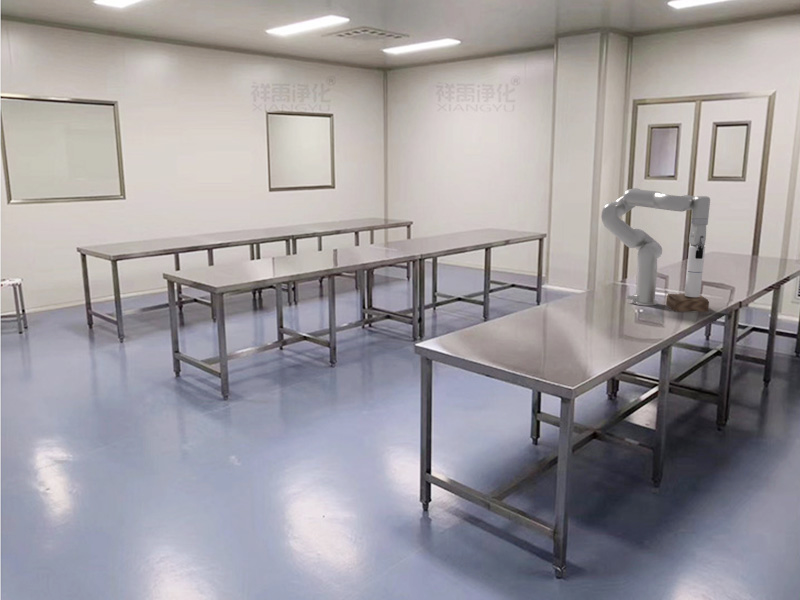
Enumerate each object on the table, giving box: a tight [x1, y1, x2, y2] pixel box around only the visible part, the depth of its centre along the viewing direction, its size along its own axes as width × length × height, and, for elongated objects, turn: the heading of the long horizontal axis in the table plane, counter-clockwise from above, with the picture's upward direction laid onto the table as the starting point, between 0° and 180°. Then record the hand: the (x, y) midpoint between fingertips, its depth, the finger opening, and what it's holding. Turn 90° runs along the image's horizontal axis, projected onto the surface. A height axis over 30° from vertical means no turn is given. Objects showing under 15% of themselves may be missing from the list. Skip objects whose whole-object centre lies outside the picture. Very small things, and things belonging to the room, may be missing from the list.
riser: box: [665, 293, 710, 313], centre depth 321 cm, size 16×14×6 cm
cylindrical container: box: [684, 245, 706, 297], centre depth 317 cm, size 7×7×25 cm
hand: (696, 256), depth 315 cm, fingers closed on cylindrical container, 7 cm apart
